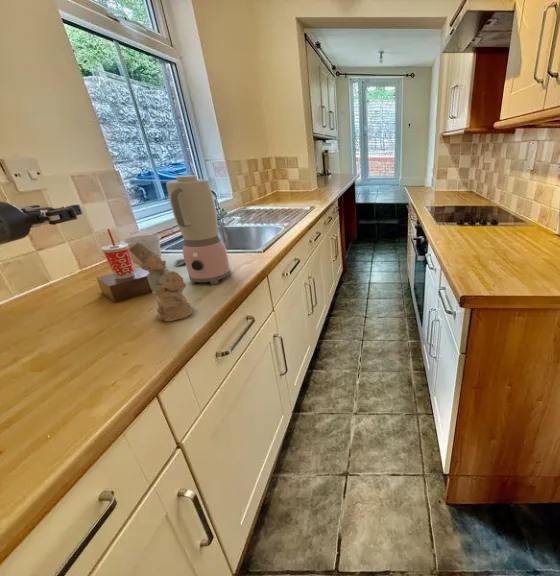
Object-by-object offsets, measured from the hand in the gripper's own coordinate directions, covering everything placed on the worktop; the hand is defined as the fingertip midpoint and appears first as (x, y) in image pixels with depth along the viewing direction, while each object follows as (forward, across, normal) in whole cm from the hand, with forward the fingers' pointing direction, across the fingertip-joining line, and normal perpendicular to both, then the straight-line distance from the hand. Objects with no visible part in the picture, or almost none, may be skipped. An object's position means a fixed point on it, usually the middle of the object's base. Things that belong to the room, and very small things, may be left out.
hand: (59, 209), depth 73 cm
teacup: (+34, +9, +27) cm, 45 cm away
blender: (+19, -20, +27) cm, 38 cm away
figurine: (-4, -21, +27) cm, 34 cm away
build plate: (+39, -7, +27) cm, 48 cm away
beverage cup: (+12, 0, +22) cm, 25 cm away
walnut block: (+12, 0, +27) cm, 29 cm away
